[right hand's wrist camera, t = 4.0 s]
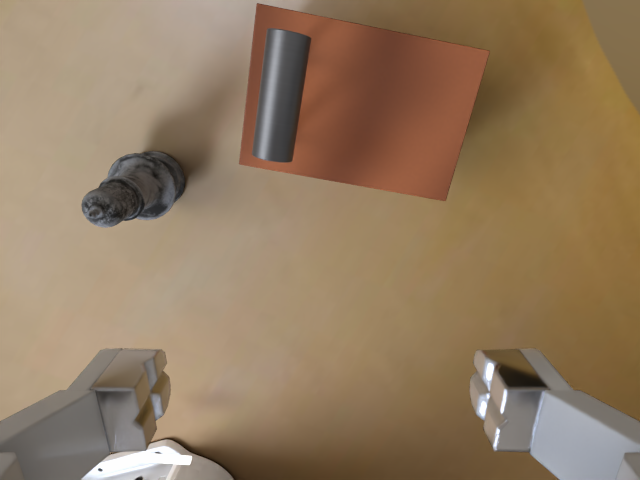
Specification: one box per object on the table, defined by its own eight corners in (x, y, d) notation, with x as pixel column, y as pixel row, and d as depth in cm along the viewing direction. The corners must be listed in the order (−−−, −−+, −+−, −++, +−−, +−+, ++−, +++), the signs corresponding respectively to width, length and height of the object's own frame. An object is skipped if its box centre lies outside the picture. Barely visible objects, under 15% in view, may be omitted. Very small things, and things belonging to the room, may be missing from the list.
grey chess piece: (137, 136, 37) (57, 156, 26) (197, 166, 38) (146, 198, 27) (117, 191, 39) (34, 233, 27) (174, 219, 40) (117, 270, 28)
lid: (242, 161, 28) (210, 190, 20) (259, 7, 25) (229, -35, 17) (440, 196, 29) (488, 238, 21) (482, 52, 26) (558, 34, 18)
